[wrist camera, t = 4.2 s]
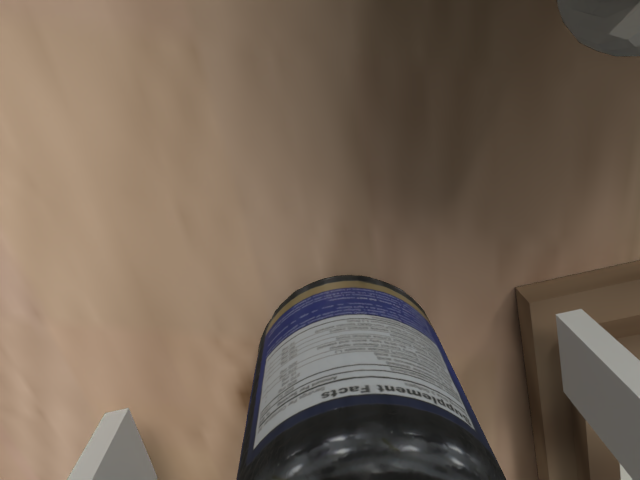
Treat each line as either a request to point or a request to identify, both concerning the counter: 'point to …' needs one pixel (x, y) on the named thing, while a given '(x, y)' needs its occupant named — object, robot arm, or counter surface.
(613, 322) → the divided wooden tray
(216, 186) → the counter surface
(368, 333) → the pill bottle
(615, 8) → the coffee mug
